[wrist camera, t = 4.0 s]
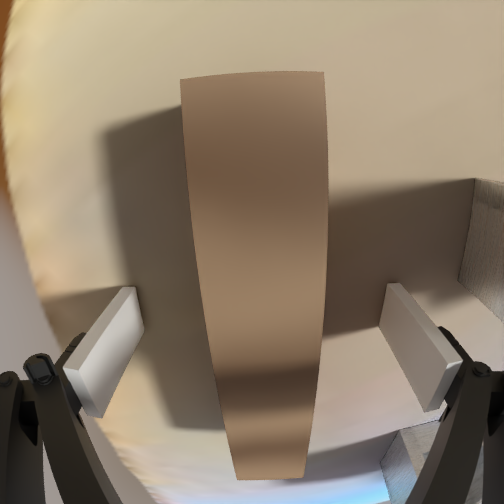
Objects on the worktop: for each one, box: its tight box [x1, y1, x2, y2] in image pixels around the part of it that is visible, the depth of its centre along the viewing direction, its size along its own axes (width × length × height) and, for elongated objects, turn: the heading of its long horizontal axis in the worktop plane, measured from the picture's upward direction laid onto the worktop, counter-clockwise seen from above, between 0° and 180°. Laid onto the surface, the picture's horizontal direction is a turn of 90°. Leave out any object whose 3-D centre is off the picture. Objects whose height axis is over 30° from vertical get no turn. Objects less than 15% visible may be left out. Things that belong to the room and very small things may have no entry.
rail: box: [180, 71, 328, 480], centre depth 13 cm, size 20×4×5 cm, turn 3°
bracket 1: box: [380, 420, 483, 504], centre depth 17 cm, size 6×8×9 cm
